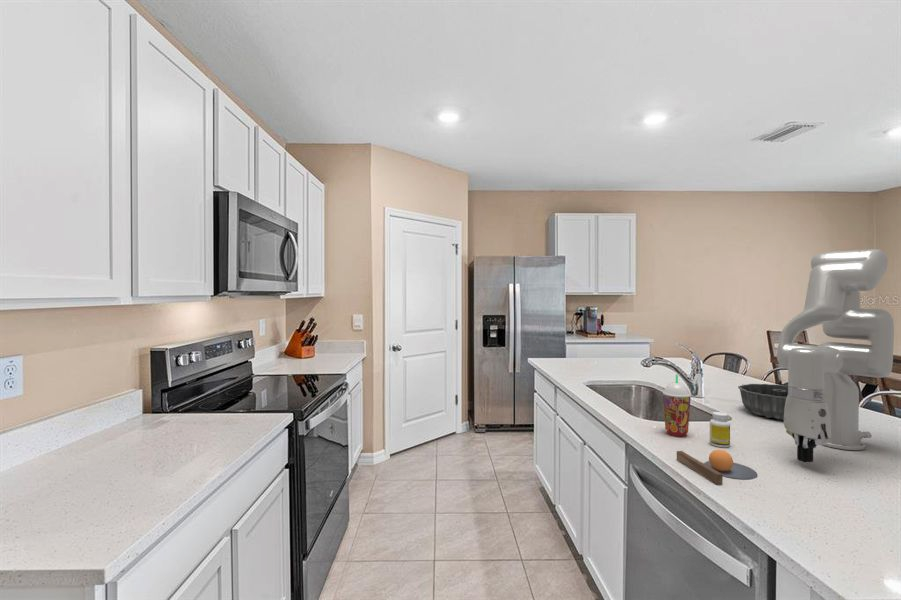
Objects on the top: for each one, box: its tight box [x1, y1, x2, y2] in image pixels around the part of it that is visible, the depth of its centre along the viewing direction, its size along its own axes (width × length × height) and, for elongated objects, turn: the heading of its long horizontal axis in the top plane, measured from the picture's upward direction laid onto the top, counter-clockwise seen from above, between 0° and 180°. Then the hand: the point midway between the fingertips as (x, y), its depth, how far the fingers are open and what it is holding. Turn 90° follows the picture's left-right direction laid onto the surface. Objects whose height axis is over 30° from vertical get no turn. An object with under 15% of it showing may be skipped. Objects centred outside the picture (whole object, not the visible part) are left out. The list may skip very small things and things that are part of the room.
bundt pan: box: [737, 383, 788, 421], centre depth 166 cm, size 26×26×10 cm
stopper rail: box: [676, 450, 723, 486], centre depth 114 cm, size 2×16×2 cm, turn 5°
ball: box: [708, 449, 734, 472], centre depth 114 cm, size 6×6×6 cm
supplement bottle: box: [709, 411, 731, 448], centre depth 134 cm, size 5×5×10 cm
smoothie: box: [662, 374, 692, 438], centre depth 144 cm, size 8×8×20 cm
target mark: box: [704, 460, 758, 481], centre depth 115 cm, size 12×12×1 cm
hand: (805, 460), depth 117 cm, fingers closed
